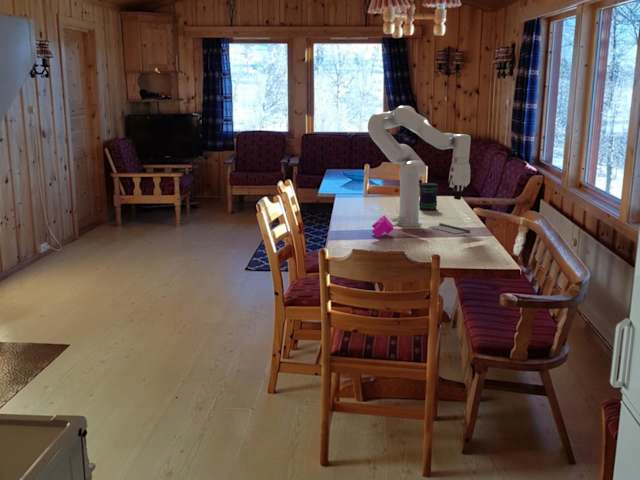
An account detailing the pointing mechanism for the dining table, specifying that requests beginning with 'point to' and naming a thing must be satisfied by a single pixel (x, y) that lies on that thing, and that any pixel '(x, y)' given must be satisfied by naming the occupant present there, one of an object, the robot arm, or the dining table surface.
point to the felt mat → (447, 229)
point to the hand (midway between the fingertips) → (457, 199)
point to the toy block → (382, 226)
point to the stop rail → (454, 227)
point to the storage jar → (428, 196)
